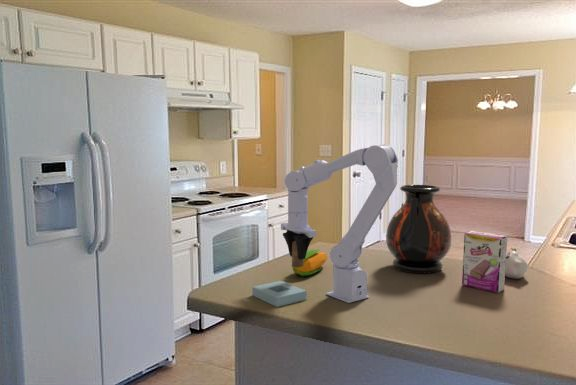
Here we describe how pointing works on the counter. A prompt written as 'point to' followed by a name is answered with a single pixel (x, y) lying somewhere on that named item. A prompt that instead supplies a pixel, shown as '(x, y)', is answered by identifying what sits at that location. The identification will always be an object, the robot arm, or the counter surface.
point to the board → (279, 293)
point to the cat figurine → (515, 265)
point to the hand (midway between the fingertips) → (297, 257)
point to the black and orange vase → (418, 232)
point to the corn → (311, 263)
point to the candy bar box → (484, 261)
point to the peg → (296, 256)
